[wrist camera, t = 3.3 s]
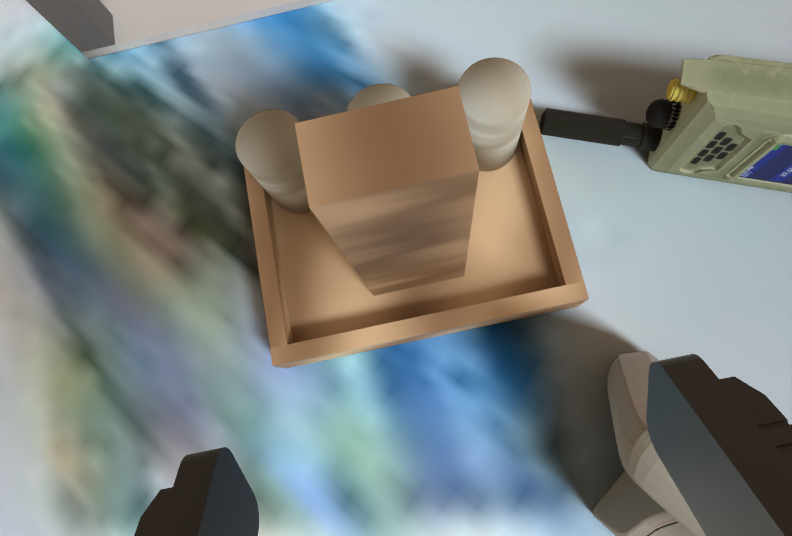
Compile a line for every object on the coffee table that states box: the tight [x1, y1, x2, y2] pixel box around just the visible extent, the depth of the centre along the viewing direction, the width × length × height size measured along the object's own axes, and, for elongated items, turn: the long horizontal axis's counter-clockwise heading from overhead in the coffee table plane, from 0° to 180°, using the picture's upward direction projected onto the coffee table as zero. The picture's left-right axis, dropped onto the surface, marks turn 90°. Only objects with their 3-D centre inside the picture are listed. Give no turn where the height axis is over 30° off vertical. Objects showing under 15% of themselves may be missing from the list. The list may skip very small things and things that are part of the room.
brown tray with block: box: [235, 58, 589, 368], centre depth 21 cm, size 14×11×14 cm
